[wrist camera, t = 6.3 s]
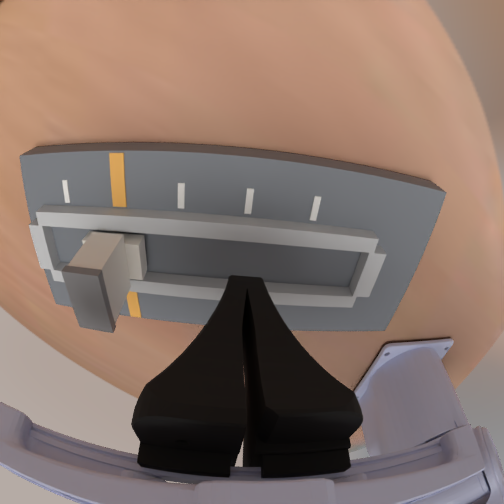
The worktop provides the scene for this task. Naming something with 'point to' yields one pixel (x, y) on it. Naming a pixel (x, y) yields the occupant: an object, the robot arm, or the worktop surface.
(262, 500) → the robot arm
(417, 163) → the worktop surface
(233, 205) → the console
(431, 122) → the worktop surface
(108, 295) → the fader tab
